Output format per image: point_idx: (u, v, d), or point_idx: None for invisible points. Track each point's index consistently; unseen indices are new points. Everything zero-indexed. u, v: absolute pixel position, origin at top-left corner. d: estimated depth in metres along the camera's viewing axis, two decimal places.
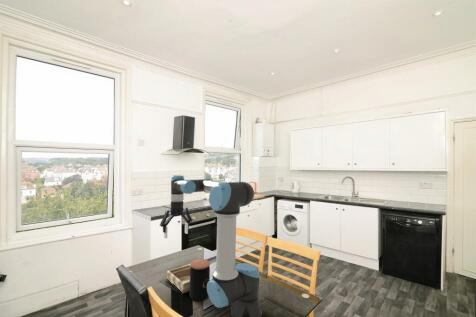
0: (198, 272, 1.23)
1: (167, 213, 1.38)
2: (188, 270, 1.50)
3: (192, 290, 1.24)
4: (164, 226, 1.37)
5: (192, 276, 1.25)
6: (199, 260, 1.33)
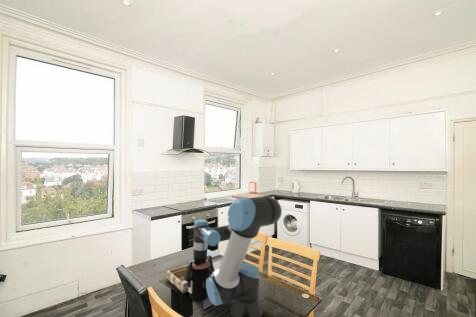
0: (198, 272, 1.23)
1: (190, 265, 1.24)
2: None
3: (192, 290, 1.24)
4: (189, 280, 1.23)
5: None
6: None
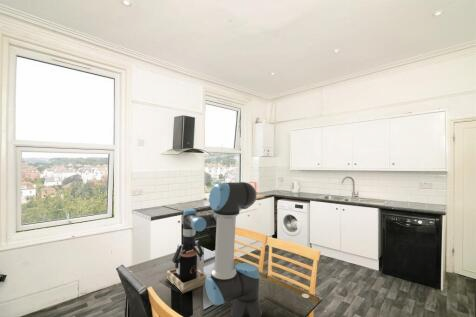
0: (186, 260, 1.36)
1: (179, 249, 1.37)
2: None
3: (180, 276, 1.38)
4: (177, 262, 1.36)
5: (180, 263, 1.38)
6: None
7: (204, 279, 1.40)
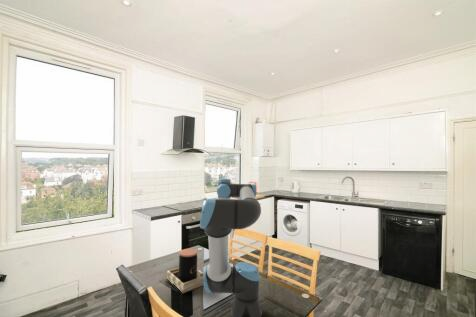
0: (186, 260, 1.37)
1: None
2: None
3: (181, 276, 1.38)
4: None
5: (181, 263, 1.38)
6: (187, 249, 1.46)
7: None
